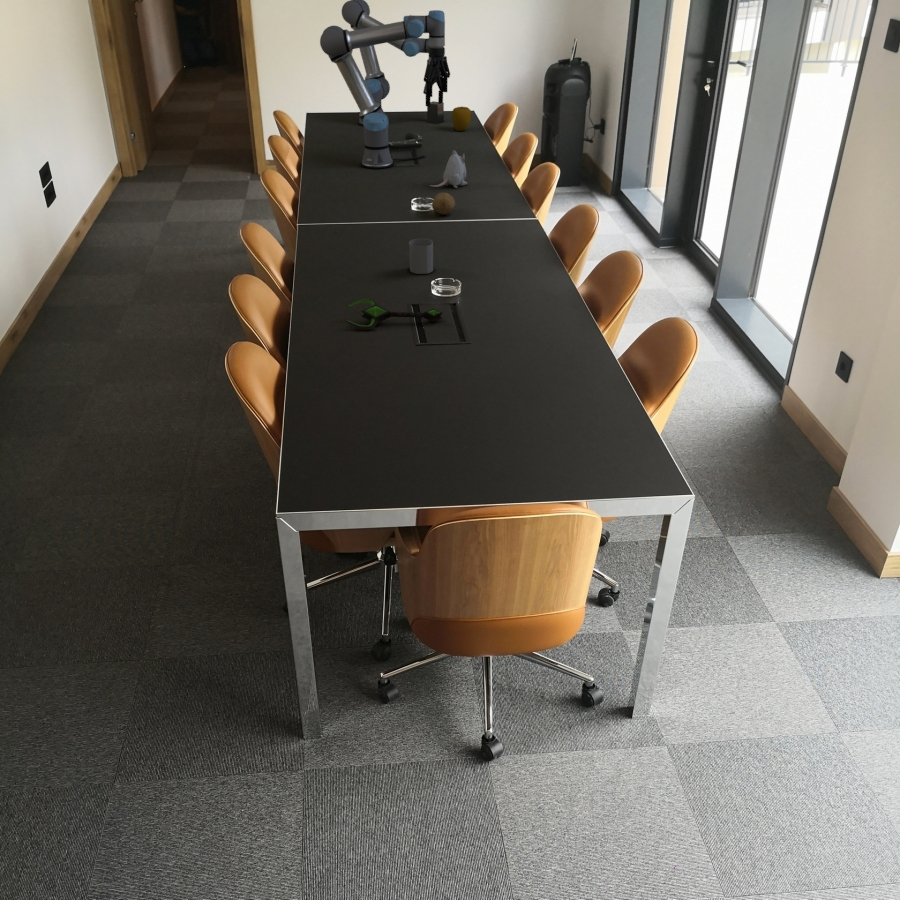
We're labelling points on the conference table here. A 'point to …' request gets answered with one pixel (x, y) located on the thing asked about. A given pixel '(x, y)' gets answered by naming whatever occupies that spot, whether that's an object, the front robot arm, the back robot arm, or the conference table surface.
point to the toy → (454, 171)
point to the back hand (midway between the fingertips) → (434, 104)
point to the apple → (461, 118)
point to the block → (435, 112)
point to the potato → (443, 203)
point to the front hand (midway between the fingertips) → (437, 94)
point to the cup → (421, 256)
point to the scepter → (389, 314)
